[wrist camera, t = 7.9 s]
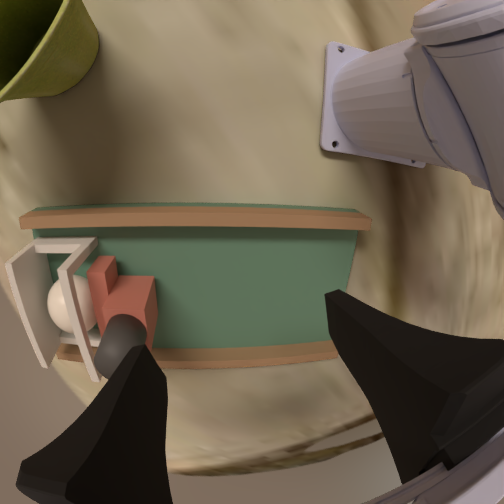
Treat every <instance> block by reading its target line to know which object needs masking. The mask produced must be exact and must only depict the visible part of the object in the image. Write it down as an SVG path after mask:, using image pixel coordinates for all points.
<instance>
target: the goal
mask: <svg viewBox="0 0 504 504" xmlns="http://www.w3.org/2000/svg"><path fill="white" fill-rule="evenodd" d="M97 245H98V239H97V236H66V237H37V238H36V239H34V240H33V241H32V242H30V243H29V244H28V245H27V246H25V247H24V248H23V249H22V250H20V251H19V252H18V253H17V254H15V255H14V256H13V257H12V258H10V259H9V260H8V261H7V262H6V263H5V267H6V271H7V274H8V278H9V282H10V285H11V289H12V292H13V295H14V298H15V301H16V304H17V307H18V310H19V313H20V316H21V319H22V321H23V324H24V327H25V329H26V332H27V334H28V337H29V339H30V342H31V344H32V346H33V349H34V351H35V353H36V355H37V357H38V360H39V362H40V364H41V366H42V367H44V368H49V366H50V364H51V362H52V360H53V358H54V356H55V354H56V352H57V350H58V348H59V346H60V344H61V343H66V344H75V345H78V346H79V349H80V352H81V355H82V357H83V360H84V363H85V365H86V368H87V370H88V373H89V375H90V378H91V380H92V381H94V382H100V380H101V377H102V375H101V374H100V373H99V372H98V371H97V369H96V367H95V365H94V353H93V350H92V347H91V346H95V347H98V346H99V343H100V341H101V334H100V331H99V329H96V328H91V329H90V330H89V331H86V327H85V324H84V320H83V317H82V313H81V309H80V305H79V301H78V297H77V293H76V288H75V284H74V279H73V274H74V273H75V272H76V270H77V269H78V268H79V267H80V266H81V264H82V263H83V262H84V261H85V259H86V258H87V257H88V256H89V255H90V254H91V252H92V251H93V250H94V249H95V248H96V247H97ZM47 253H72V254H71V255H70V256H69V257H68V258H67V259H66V261H65V262H64V263H63V264H62V265H61V266H60V267H59V268H58V269H57V272H58V277H59V281H60V285H61V289H62V293H63V297H64V301H65V305H66V308H67V312H68V315H69V319H70V322H71V325H72V328H73V331H74V334H72V333H68V332H65V331H63V330H62V329H60V328H59V327H58V326H57V325H56V324H55V323H54V322H53V320H52V318H51V317H50V314H49V311H48V305H47V300H48V294H49V291H50V289H51V287H52V286H53V280H52V276H51V272H50V267H49V262H48V257H47Z"/></svg>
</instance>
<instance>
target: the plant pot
mask: <svg viewBox="0 0 504 504" xmlns="http://www.w3.org/2000/svg"><path fill="white" fill-rule="evenodd" d="M98 48H99V39H98V32H97V29H96V27H95V25H94V23H93V21H92V19H91V17H90V16H89V14H88V12H87V10H86V8H85V6H84V4H83V2H82V0H0V103H1V102H3V101H6V100H13V99H22V98H32V97H45V96H55V95H58V94H60V93H62V92H64V91H66V90H67V89H69V88H71V87H73V86H74V85H76V84H77V83H78V82H79V81H80V80H81V79H82V78H83V77H84V76H85V75H86V73H87V72H88V71H89V69H90V68H91V66H92V64H93V62H94V60H95V58H96V55H97V52H98Z"/></svg>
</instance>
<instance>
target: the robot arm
mask: <svg viewBox="0 0 504 504" xmlns="http://www.w3.org/2000/svg"><path fill="white" fill-rule="evenodd" d="M411 33H412V34H413V36H414V37H413V38H410V39H407V40H404V41H401V42H398V43H395V44H392V45H389V46H387V47H384V48H381V49H378V50H376V51H373V52H368V51H365V50H362V49H358V48H355V47H352V46H348V45H345V44H341V43H338V42H333V41H332V42H329V43H328V44H327V45H326V56H325V77H324V95H323V109H322V122H321V134H320V146H321V148H322V149H323V150H326V151H333V152H340V153H346V154H352V155H358V156H364V157H370V158H375V159H381V160H386V161H391V162H395V163H400V164H405V165H409V166H414V167H418V168H424V167H425V165H426V163H428V164H433V165H437V166H441V167H445V168H449V169H452V170H456V171H460V172H462V173H464V174H466V175H467V176H468V178H469V179H470V181H471V183H472V185H474V186H477V187H480V188H483V189H486V190H489V191H490V194H491V197H492V201H493V204H494V206H495V208H496V210H497V212H498V214H499V215H500V216H501V218H502V219H503V220H504V0H436V1H434V2H432V3H430V4H428V5H426V6H425V7H423V8H421V9H420V10H418V11H417V12H416V13H415V14H414V21H413V26H412V28H411ZM338 47H339V48H341V49H342V53H341V52H339V50H338ZM333 141H335V142H336V144H337V145H336V147H335V148H333V146H332V142H333ZM411 160H413V161H412V162H411ZM324 296H325V304H326V312H327V321H328V330H329V335H330V337H331V339H332V341H333V343H334V345H335V347H336V349H337V351H338V353H339V355H340V357H341V358H342V360H343V361H344V363H345V364H346V366H347V368H348V369H349V371H350V372H351V374H352V375H353V377H354V378H355V380H356V381H357V383H358V385H359V386H360V388H361V389H362V391H363V392H364V394H365V396H366V398H367V399H368V401H369V403H370V405H371V407H372V409H373V411H374V414H375V416H376V418H377V420H378V422H379V424H380V427H381V429H382V431H383V434H384V436H385V438H386V441H387V443H388V445H389V448H390V451H391V453H392V456H393V459H394V462H395V464H396V467H397V470H398V473H399V476H400V479H401V483H402V485H401V486H400V487H397V488H395V489H393V490H391V491H389V492H387V493H385V494H383V495H381V496H379V497H376V498H374V499H372V500H370V501H367V502H365V503H362V504H407V503H409V502H411V501H413V500H414V499H415V500H414V501H413V503H412V504H496V503H497V502H499V501H500V500H501V499H502V497H504V340H503V339H477V338H468V337H460V336H454V335H448V334H444V333H439V332H435V331H431V330H428V329H424V328H421V327H418V326H415V325H412V324H409V323H406V322H404V321H401V320H399V319H397V318H394V317H392V316H390V315H387V314H385V313H383V312H381V311H379V310H377V309H375V308H373V307H371V306H369V305H367V304H365V303H363V302H362V301H360V300H358V299H356V298H354V297H352V296H351V295H349V294H347V293H345V292H343V291H342V290H340V289H337V290H334V291H332V292H329V293H326V294H324ZM167 406H168V393H167V379H166V376H165V375H164V373H163V372H162V370H161V369H160V367H159V365H158V364H157V362H156V361H155V359H154V357H153V356H152V354H151V353H150V351H149V349H148V348H147V346H146V344H143V345H138V346H134V347H132V348H131V349H130V350H129V352H128V353H127V354H126V356H125V357H124V358H123V360H122V361H121V363H120V364H119V366H118V367H117V368H116V370H115V371H114V373H113V374H112V376H111V377H110V379H109V380H108V381H107V383H106V384H105V386H104V387H103V388H102V389H101V391H100V392H99V393H98V395H97V396H96V397H95V399H94V400H93V401H92V403H91V404H90V405H89V406H88V407H87V409H86V410H85V411H84V412H83V413H82V414H81V415H80V416H79V417H78V419H77V420H76V421H75V422H74V423H73V424H72V425H70V426H69V427H68V428H67V429H66V430H65V431H64V432H63V433H62V434H61V435H60V436H58V437H57V438H56V439H55V440H54V441H52V442H51V443H50V444H48V445H47V446H46V447H44V448H43V449H41V450H40V451H38V452H37V453H35V454H33V455H32V456H30V457H28V458H27V459H25V460H23V461H22V463H21V466H20V470H19V474H18V478H17V481H16V487H17V488H18V489H19V491H21V492H22V493H23V494H25V495H26V496H28V497H29V498H31V499H32V500H34V501H36V502H37V503H39V504H173V502H172V497H171V493H170V487H169V480H168V474H167V465H166V454H165V441H166V422H167Z"/></svg>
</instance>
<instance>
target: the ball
mask: <svg viewBox="0 0 504 504" xmlns="http://www.w3.org/2000/svg"><path fill="white" fill-rule="evenodd" d="M73 279H74V284H75V288H76V293H77V297H78V301H79V305H80V309H81V313H82V317H83V320H84V324H85V327H86V331H89V330H90V329H91V328H93V327H94V325H95V324H96V323H97V319H96V315H95V311H94V307H93V302H92V298H91V293H90V289H89V284H88V279H86V278H85V277H82V276H79V275H73ZM47 305H48V311H49V314H50V317H51V318H52V320H53V322H54V323H55V324H56V325H57V326H58V327H59V328H60V329H62V330H63V331H65V332H68V333H72V334H74V331H73V328H72V325H71V322H70V319H69V315H68V312H67V308H66V305H65V301H64V297H63V293H62V289H61V285H60V281H59V279H58V280H57V281H56V282H55V283H54V284H53V286H52V287H51V289H50V291H49V294H48V300H47Z"/></svg>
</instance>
